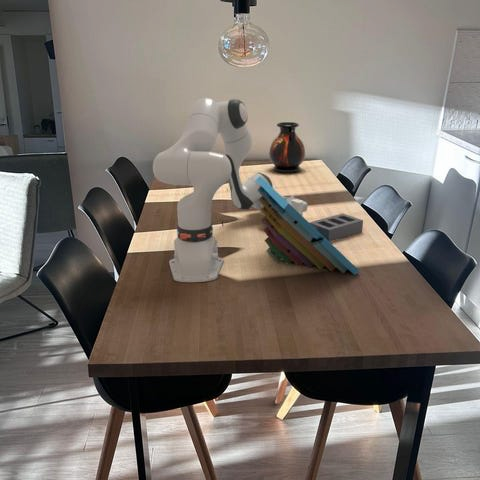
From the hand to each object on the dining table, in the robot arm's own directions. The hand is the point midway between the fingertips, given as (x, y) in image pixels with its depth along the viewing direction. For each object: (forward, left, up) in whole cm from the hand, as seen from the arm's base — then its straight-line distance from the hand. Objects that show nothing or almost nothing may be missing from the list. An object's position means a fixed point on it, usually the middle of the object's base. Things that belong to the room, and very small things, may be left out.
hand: (297, 214), depth 199 cm
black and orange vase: (+103, -11, -7) cm, 104 cm away
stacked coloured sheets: (-29, +3, -7) cm, 30 cm away
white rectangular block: (+1, 0, -7) cm, 7 cm away
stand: (-5, -15, -7) cm, 17 cm away
